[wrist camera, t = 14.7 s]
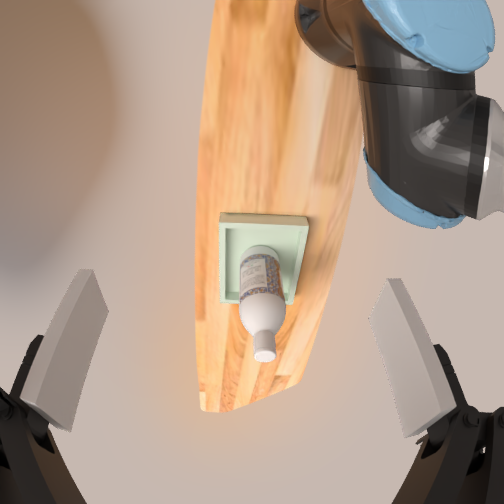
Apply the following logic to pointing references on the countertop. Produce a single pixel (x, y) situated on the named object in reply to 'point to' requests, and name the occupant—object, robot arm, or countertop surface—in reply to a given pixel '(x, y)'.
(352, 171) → the countertop surface
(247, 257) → the bath foam
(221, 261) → the tray
